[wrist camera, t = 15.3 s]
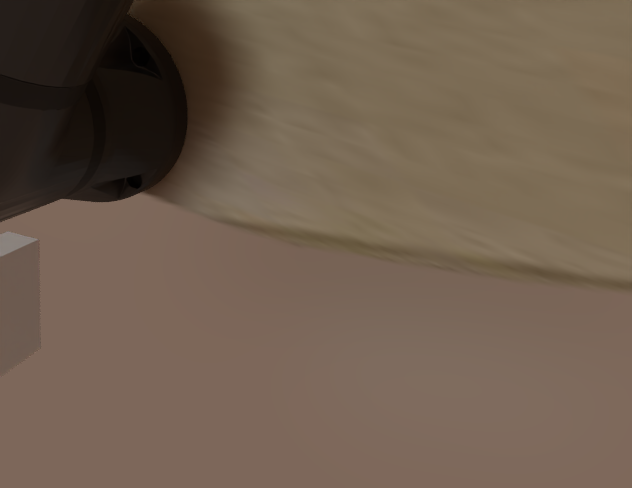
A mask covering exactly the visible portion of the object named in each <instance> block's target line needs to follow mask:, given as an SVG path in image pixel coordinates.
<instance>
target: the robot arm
mask: <svg viewBox="0 0 632 488" xmlns="http://www.w3.org/2000/svg"><path fill="white" fill-rule="evenodd" d="M133 1H134V0H0V222H2V221H5V220H7V219H10V218H12V217H15V216H17V215H20V214H23V213H26V212H28V211H31V210H33V209H36V208H39V207H41V206H44V205H47V204H49V203H52V202H54V201H57V200H59V199H71V200H81V201H91V202H111V201H117V200H122V199H125V198H128V197H131V196H133V195H136V194H138V193H140V192H142V191H145V190H147V189H149V188H150V187H152V186H154V185H155V184H156V183H158V182H159V181H160V180H161V179H162V178H163V177H164V176H165V175H166V174H167V173H168V172H169V171H170V169H171V168H172V167H173V165H174V164H175V162H176V160H177V158H178V156H179V154H180V152H181V149H182V146H183V143H184V139H185V135H186V128H187V103H186V96H185V91H184V87H183V84H182V80H181V78H180V75H179V72H178V70H177V68H176V65H175V64H174V62H173V60H172V58H171V56H170V55H169V53H168V51H167V50H166V49H165V47H164V46H163V45H162V43H161V42H160V41H159V40H158V38H157V37H156V36H155V35H154V34H153V33H152V32H151V31H150V30H149V29H148V28H146V27H145V26H144V25H143V24H141V23H140V22H139V21H137V20H136V19H134V18H132V17H131V16H129V15H127V12H128V10H129V8H130V6H131V4H132V3H133ZM40 348H41V342H40V270H39V239H36V238H32V237H28V236H24V235H20V234H16V233H12V232H9V231H7V232H5V233H3V234H0V377H2V376H3V375H4V374H6V373H7V372H9V371H10V370H11V369H13V368H14V367H15V366H17V365H18V364H19V363H21V362H22V361H24V360H25V359H27V358H28V357H29V356H31V355H32V354H34V353H35V352H36V351H38V350H39V349H40Z"/></svg>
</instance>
